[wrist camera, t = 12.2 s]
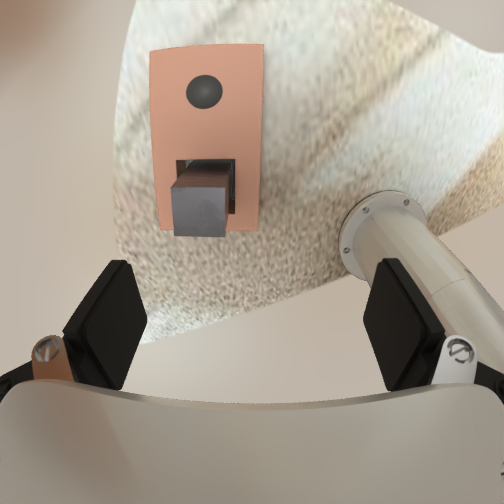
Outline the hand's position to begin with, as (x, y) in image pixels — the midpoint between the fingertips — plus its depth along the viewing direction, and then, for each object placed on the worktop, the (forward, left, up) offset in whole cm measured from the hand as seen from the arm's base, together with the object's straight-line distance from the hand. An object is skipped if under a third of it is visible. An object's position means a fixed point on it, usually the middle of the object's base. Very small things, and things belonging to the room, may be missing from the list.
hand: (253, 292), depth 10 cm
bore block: (+5, +1, -21) cm, 22 cm away
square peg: (+2, +4, -21) cm, 22 cm away
